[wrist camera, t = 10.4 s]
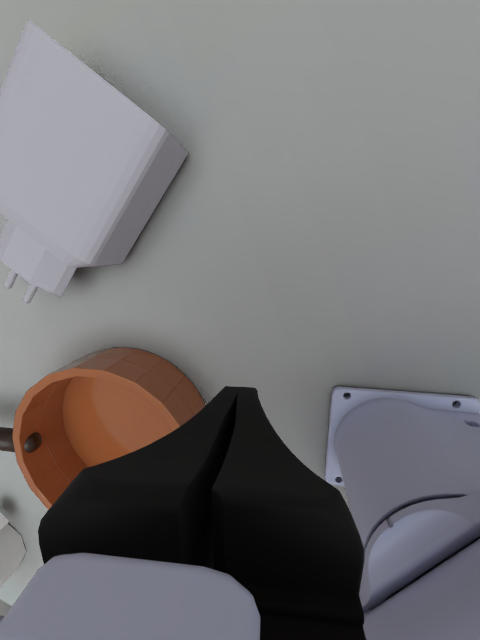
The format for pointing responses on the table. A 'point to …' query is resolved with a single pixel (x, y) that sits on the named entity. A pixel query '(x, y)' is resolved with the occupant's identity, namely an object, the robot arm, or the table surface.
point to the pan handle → (3, 441)
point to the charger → (73, 166)
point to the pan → (98, 414)
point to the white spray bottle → (9, 549)
